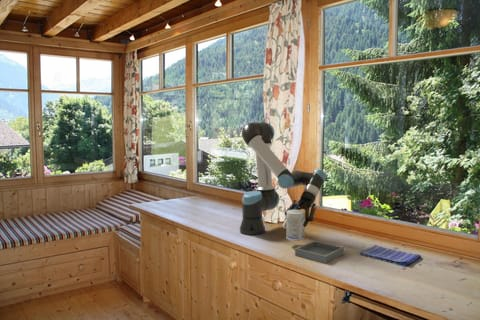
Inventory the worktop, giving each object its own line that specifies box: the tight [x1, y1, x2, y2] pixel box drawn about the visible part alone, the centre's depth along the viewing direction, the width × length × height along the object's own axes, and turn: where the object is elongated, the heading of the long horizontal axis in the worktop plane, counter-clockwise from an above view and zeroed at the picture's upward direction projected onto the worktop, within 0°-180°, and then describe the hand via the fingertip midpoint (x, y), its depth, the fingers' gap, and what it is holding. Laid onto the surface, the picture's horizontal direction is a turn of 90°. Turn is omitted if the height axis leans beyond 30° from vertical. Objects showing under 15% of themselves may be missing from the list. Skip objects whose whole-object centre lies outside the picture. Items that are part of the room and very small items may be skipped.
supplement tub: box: [285, 209, 306, 242], centre depth 206 cm, size 10×10×15 cm
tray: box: [294, 240, 345, 264], centre depth 193 cm, size 17×17×3 cm
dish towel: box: [359, 244, 422, 268], centre depth 189 cm, size 17×24×3 cm
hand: (291, 229), depth 204 cm, fingers closed on supplement tub, 9 cm apart
